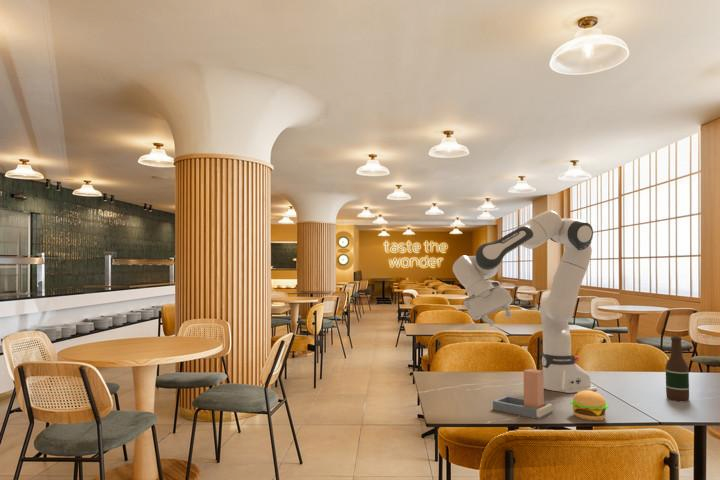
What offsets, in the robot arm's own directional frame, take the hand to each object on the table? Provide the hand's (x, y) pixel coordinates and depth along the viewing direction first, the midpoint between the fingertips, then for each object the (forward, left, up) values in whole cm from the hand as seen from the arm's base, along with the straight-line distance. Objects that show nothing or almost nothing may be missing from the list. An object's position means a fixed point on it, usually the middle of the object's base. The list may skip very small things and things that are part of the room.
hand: (501, 320), depth 198 cm
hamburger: (-21, +23, -31) cm, 44 cm away
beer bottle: (-68, +6, -31) cm, 75 cm away
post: (-4, +17, -30) cm, 35 cm away
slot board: (-1, +14, -30) cm, 34 cm away
